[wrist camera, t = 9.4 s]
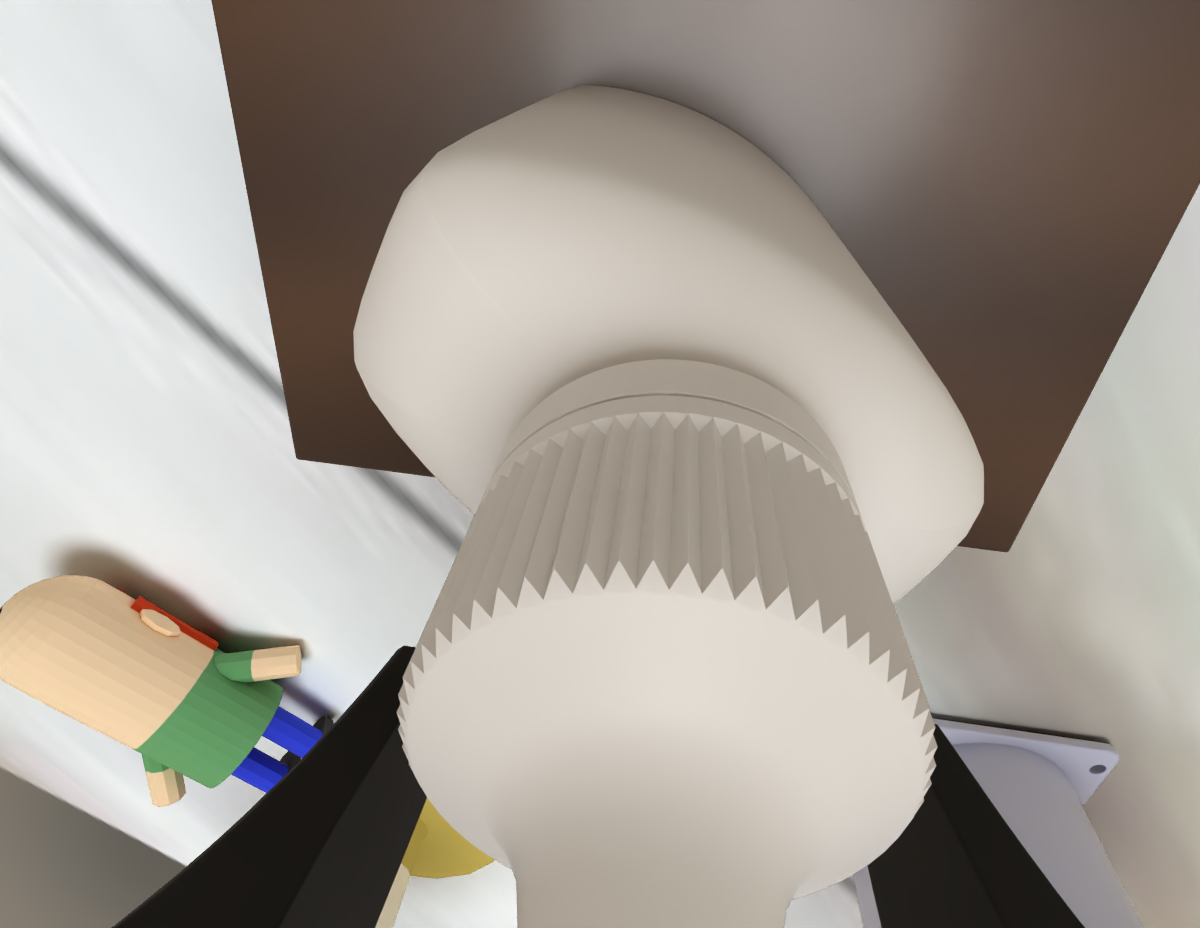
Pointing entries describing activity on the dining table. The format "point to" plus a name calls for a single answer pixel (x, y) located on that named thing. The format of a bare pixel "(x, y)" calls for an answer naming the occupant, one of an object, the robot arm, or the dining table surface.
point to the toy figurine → (153, 684)
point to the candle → (431, 858)
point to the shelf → (786, 135)
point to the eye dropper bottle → (660, 516)
